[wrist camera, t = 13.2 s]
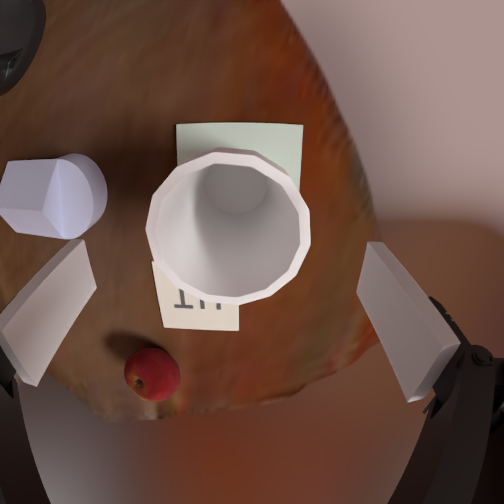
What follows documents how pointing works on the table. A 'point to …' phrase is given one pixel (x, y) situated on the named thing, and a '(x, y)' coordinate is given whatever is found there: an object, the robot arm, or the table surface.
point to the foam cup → (228, 226)
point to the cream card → (191, 308)
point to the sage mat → (245, 142)
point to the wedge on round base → (53, 196)
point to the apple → (152, 374)
